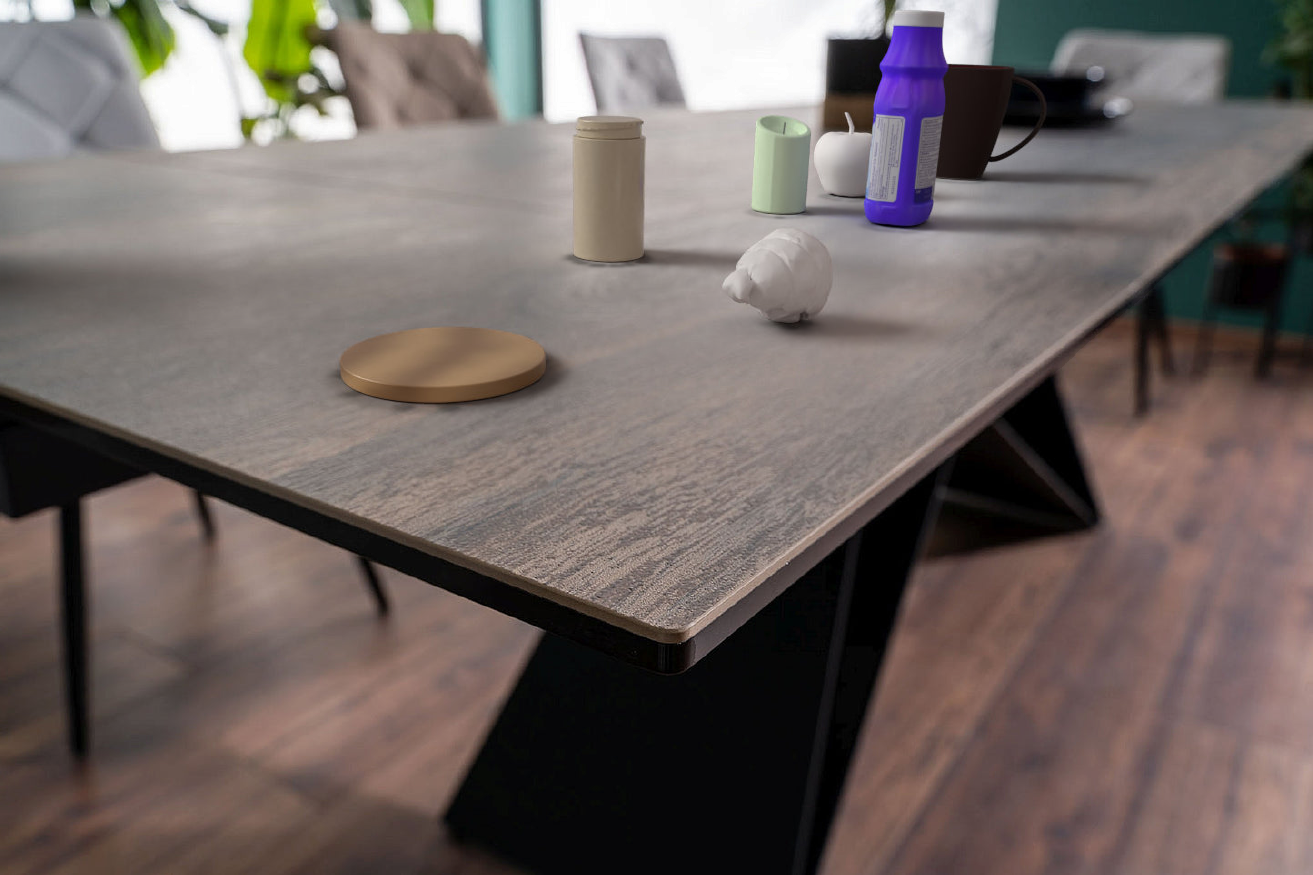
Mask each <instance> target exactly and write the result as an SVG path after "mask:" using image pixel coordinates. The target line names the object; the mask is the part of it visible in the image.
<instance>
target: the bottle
mask: <svg viewBox="0 0 1313 875" xmlns="http://www.w3.org/2000/svg"><path fill="white" fill-rule="evenodd" d="M945 16H946V14H945V12H944V11H939V10H919V9H916V10H914V9H904V10H903V9H900V10H898V9H897V10H896V11H894V18H893V24H892V26H893V28H892V34H891V38H890V39H891V40H890V43H889V46H888V49H887V52H886V53H885V55H884V57H883V58H882V60H881V61H880V63H879V70H880V71H881V75H882V77H881V80H880V82H879V85H878V86H877V90H876V93H875V98H874V102H873V121H872V132H871V134H872V140H871V149H870V159H869V169H868V178H867V187H866V195H865V199H864V200H863V210H864V215H865V218H866V219H867V221H869V222H870V223H873V224H882V225H891V226H898V227H911V226H912V227H913V226H917V225H920V224H923V223H925V222H926V221H927V220H928V219H929V218H930V216H931V214H932V212H933V207H934V197H935V190H936V189H935V188H936V180H937V178H936V171H937V162H938V154H939V145H940V136H941V128H942V120H943V113H944V110H945V91H944V84H943V77H944V75H945V73H946V72H947V71H948V67H949V66H948V64H949V63H948V62H947V60H946V56H945V52H944V44H943V43H944V42H943V40H944V39H943V38H944V34H943V33H944V27H945V26H944V25H945Z"/></svg>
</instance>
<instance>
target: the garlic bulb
mask: <svg viewBox="0 0 1313 875" xmlns="http://www.w3.org/2000/svg"><path fill="white" fill-rule="evenodd" d="M833 272H834V270H833V262H832V257H831V254H830V251H829V250H828V248H827V247H826V245H825V244H824V243H823V242H822V241H821V240H820V239H819V238H817V237H816V236H814V235H812V234H810V233H808V232H807V231H804V230H801V229H798V228H789V227H780V228H777V229H774V230H773V231H771V232H770V233H769V234H767V235H766V236H764V237H763V238H761V239H760V240H759V241H758V242H756V243H754V244H753V245H751V246H750V247H749V248H748V249H746V251H745V252H744V253H743V255H741V257H740V259H739V260H738V261H737V262H736V267H735V270H734V271H732V272H731V273H729V274H728V276H726V278H725V279H724V281H723V282H722V291H723V292H724V293H725V295H726V296H728V298H730V300H732V301H734V302H736V303H739V304H746V305H750V306H751V307H754V308H755V310H756V312H757V313H759V314H760V315H762V317H764V318H765V319H767V320H771V321H772V320H774V321H776V322H778V323H779V322H780V323H787V324H793V323H798V322H799V321H800V320H811V319H813V318H815V317H816V316H818V315H819V313H820V312H821V311H822V310H823V309H824V307H825V306H826V304H827V302H828V300H829V296H830V294H831V293H830V292H831V289H832V287H833V286H832V285H833V280H834V276H833V275H834V273H833Z"/></svg>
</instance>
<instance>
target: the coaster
mask: <svg viewBox="0 0 1313 875" xmlns="http://www.w3.org/2000/svg"><path fill="white" fill-rule="evenodd" d="M339 358H340V359H339V369H340V377H341V379H342V381H343V382H344V384H345V385H347V386H348V387H349V388H351V389H353V390H354V391H356V392H359V393H361V394H364V395H367V396H371V397H374V398H379V399H383V400H388V401H389V400H391V401H396V402H407V403H421V404H422V403H423V404H424V403H425V404H426V403H427V404H428V403H430V404H433V403H434V404H436V403H437V404H438V403H439V404H440V403H442V404H443V403H458V402H459V403H460V402H469V401H476V400H484V399H489V398H495V397H499V396H504V395H507V394H510V393H514V392H518V391H519V390H522V389H524V388H526V387H529V386H531V385H533V384H534V383H536V382H537V381H539V380H540V379H541V378H543V375H544V374H545V372H546V368H547V360H546V359H547V355H546V350H545V348H544V347H543V346H542V345H541V344H540V343H539V342H537V341H536V340H533V339H532V338H529V337H527V336H524V335H521V334H519V333H515V332H511V331H505V330H500V329H492V328H484V327H474V326H473V327H471V326H469V327H468V326H438V327H437V326H435V327H423V328H412V329H406V330H398V331H394V332H388V333H384V334H380V335H376V336H373V337H369V338H367V339H364V340H360V341H359V342H357V343H355V344H353V345H351V346H350V347H348V348H346V350H344V351H343V352H342V354H341V356H340V357H339Z"/></svg>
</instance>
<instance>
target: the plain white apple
mask: <svg viewBox="0 0 1313 875" xmlns="http://www.w3.org/2000/svg"><path fill="white" fill-rule="evenodd" d="M844 115H845V117H846V120H847V123H848V126H849V130H848V132H846V131H829V132H825V133H824V134H823V135H822V136H821V137H820V138H819V139H818V141H817V142H816V145H815V147H814V151H813V162H814V167H815V169H816V172H817V175H818V178H819V180H820V183H821V186H822V189H823V190H824V191H825V192H826V193H827V194H829V195H832V194H833V195H835V196H842V197H843V196H844V197H852V198H854V197H866V187H867V178H868V169H869V159H870V149H871V140H872V133H869V132H856V131H855V125H854V122H853V120H852V117H851V115H850V113H849V112H847V111H845V112H844Z"/></svg>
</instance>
